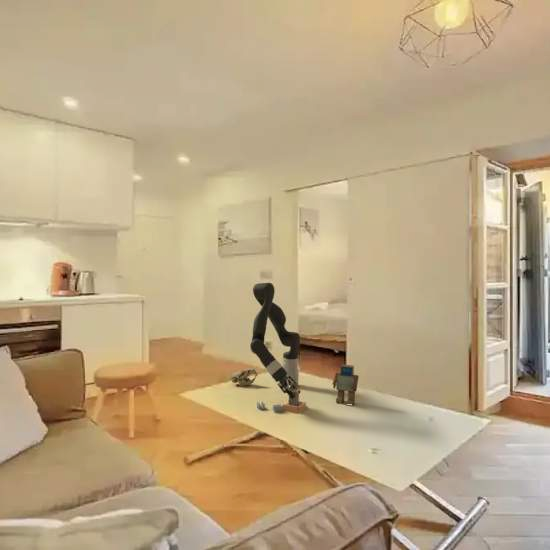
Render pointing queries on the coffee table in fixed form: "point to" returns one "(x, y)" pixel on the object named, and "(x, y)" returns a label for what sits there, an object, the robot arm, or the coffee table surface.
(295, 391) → the plug
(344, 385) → the toy
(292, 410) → the holder
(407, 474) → the coffee table surface
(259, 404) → the clip
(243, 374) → the skull
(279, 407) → the clip
